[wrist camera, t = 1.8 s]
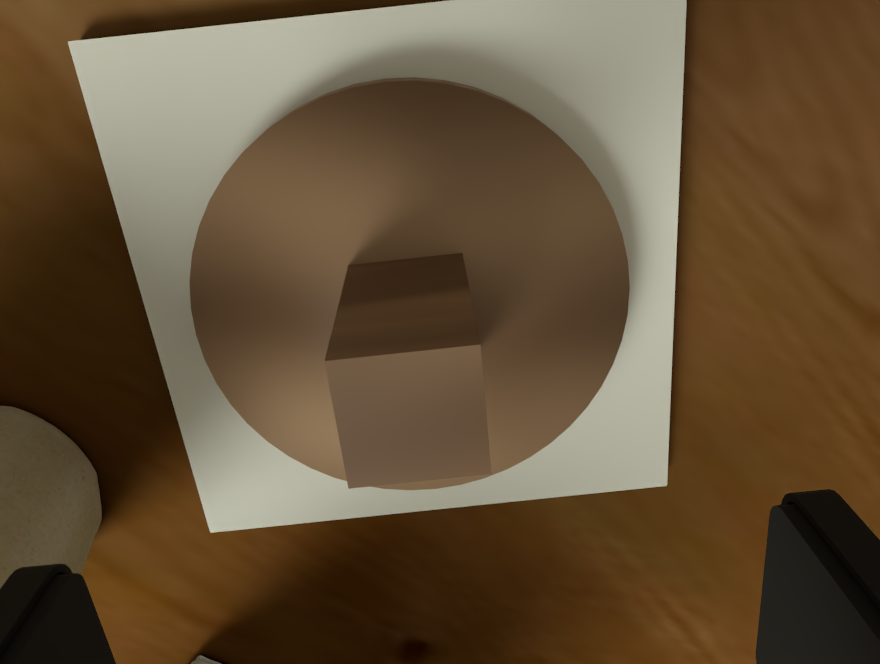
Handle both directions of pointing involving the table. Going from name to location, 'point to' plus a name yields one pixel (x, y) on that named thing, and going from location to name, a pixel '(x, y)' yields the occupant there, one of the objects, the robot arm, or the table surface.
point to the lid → (409, 284)
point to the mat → (373, 58)
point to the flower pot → (44, 496)
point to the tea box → (204, 661)
